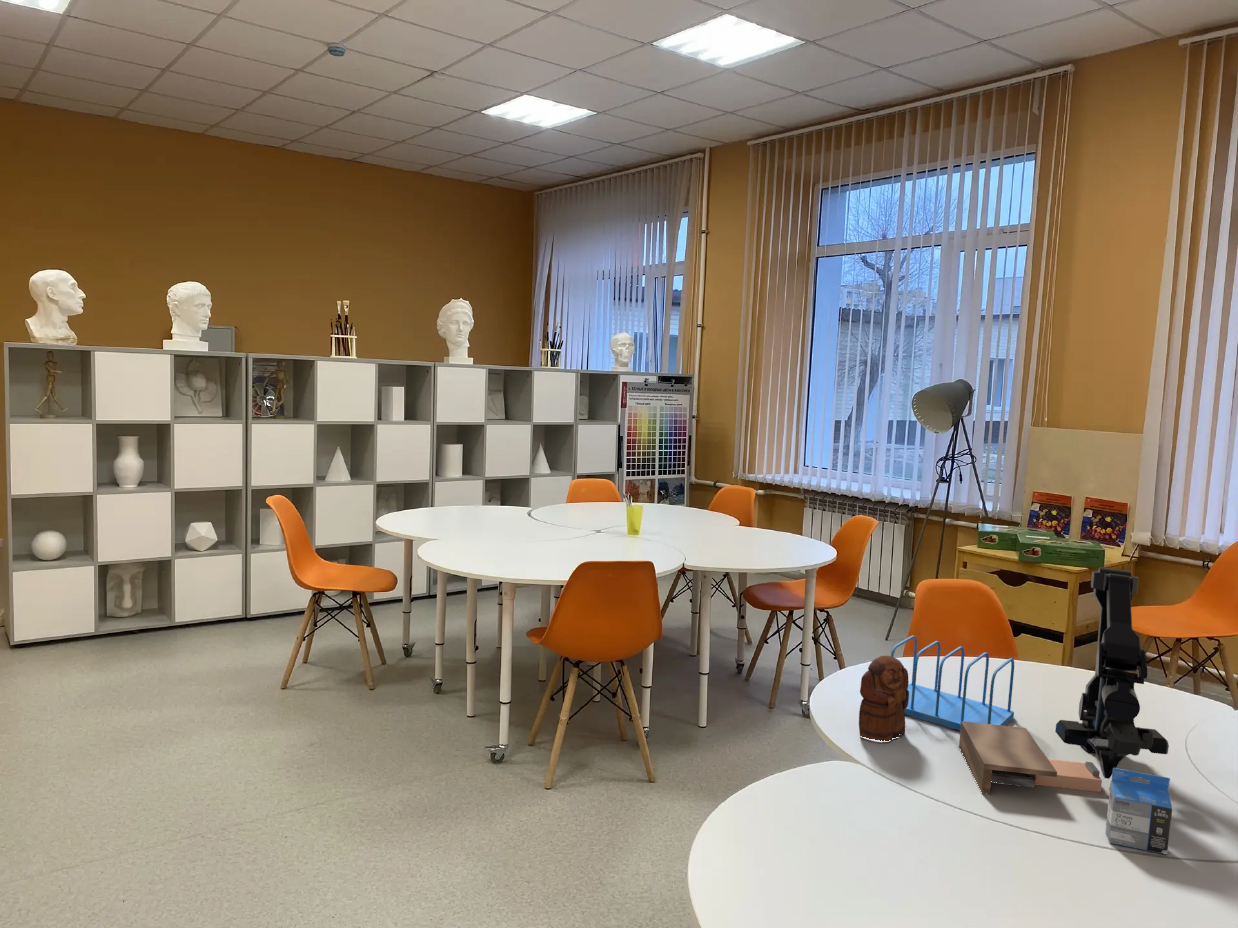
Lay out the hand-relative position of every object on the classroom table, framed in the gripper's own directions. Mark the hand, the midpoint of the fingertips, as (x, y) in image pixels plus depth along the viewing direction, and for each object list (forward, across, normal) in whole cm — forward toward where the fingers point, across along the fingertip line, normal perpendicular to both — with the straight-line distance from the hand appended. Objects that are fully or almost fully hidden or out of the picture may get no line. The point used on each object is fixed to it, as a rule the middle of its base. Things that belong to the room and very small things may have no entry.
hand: (1106, 777), depth 167 cm
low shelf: (+2, -19, 0) cm, 19 cm away
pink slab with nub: (+2, -8, 0) cm, 8 cm away
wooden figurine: (+2, -41, +12) cm, 43 cm away
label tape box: (+2, -3, -22) cm, 22 cm away
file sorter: (+2, -24, +29) cm, 38 cm away
